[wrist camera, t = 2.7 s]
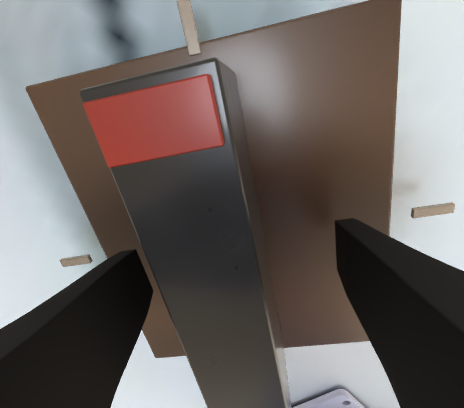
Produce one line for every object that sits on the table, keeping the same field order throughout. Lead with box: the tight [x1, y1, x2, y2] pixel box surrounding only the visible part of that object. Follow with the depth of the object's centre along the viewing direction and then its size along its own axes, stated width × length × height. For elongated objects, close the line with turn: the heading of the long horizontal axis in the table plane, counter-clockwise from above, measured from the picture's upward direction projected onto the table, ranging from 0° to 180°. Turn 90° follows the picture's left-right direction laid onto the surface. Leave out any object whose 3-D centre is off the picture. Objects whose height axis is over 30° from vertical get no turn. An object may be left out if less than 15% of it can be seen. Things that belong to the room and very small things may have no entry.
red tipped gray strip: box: [79, 57, 291, 408], centre depth 8 cm, size 12×2×5 cm, turn 12°
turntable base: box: [26, 0, 455, 358], centre depth 12 cm, size 16×16×2 cm
